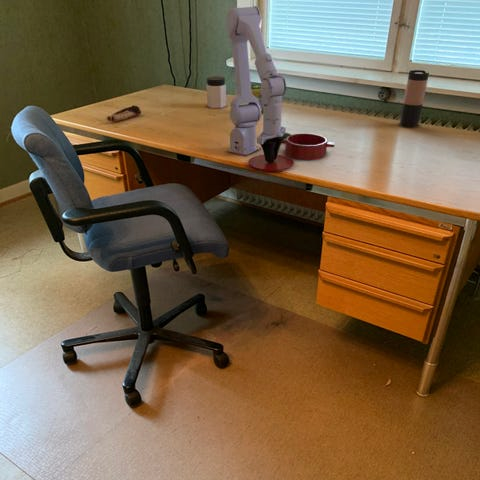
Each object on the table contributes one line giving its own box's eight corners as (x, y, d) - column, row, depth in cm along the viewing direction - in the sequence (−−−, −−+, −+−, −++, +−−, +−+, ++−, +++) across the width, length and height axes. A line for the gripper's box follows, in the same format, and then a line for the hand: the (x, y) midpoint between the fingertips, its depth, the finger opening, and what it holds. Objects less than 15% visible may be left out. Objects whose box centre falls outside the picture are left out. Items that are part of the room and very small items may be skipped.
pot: (330, 162, 168) (332, 147, 165) (274, 157, 172) (274, 143, 169) (335, 149, 179) (337, 135, 176) (282, 144, 183) (282, 131, 180)
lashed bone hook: (131, 113, 221) (99, 121, 210) (130, 102, 219) (97, 109, 207) (145, 116, 216) (113, 124, 205) (144, 104, 214) (111, 112, 202)
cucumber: (294, 142, 186) (294, 133, 184) (289, 144, 184) (290, 135, 181) (271, 137, 191) (271, 128, 188) (266, 139, 188) (266, 130, 186)
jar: (204, 105, 231) (203, 77, 224) (220, 103, 234) (219, 75, 227) (213, 109, 225) (211, 80, 217) (228, 107, 228) (228, 79, 220)
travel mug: (397, 126, 202) (406, 72, 189) (401, 121, 207) (411, 69, 195) (416, 128, 199) (427, 74, 187) (420, 123, 204) (431, 71, 192)
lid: (288, 174, 159) (289, 159, 156) (243, 170, 162) (243, 155, 159) (297, 159, 171) (298, 145, 168) (254, 155, 174) (254, 141, 171)
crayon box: (250, 114, 218) (250, 85, 211) (248, 112, 220) (248, 84, 213) (265, 112, 219) (266, 84, 212) (263, 111, 222) (264, 83, 215)
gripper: (270, 125, 151) (269, 168, 159) (294, 114, 160) (291, 156, 168) (251, 121, 154) (251, 164, 162) (276, 111, 163) (274, 152, 172)
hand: (270, 160), depth 165 cm, fingers closed on lid, 2 cm apart
